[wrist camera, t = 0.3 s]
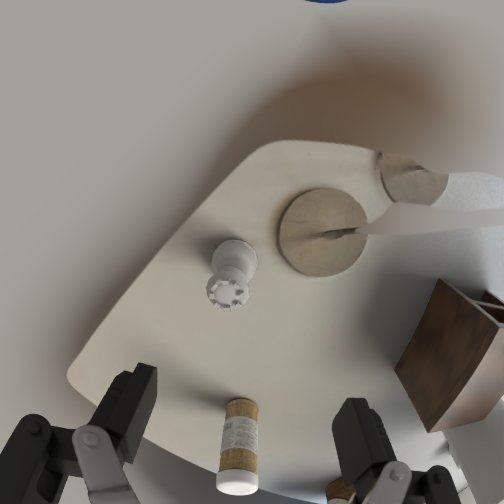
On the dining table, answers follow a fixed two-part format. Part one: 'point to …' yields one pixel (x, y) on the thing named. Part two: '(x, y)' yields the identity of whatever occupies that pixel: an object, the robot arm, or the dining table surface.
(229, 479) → the sprinkles bottle
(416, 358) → the wooden lidded box
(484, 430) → the cylinder vase
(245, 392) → the dining table surface
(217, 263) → the rook chess piece
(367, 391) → the dining table surface
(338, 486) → the wooden container
